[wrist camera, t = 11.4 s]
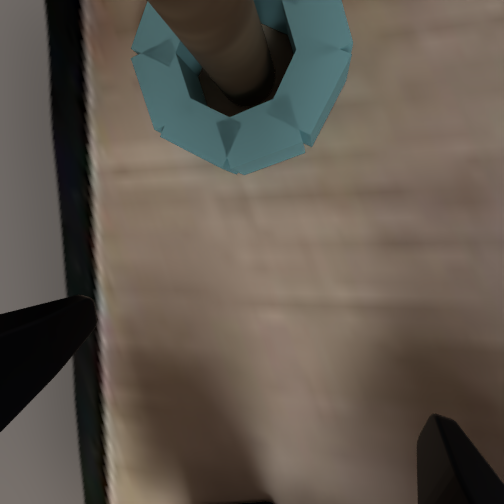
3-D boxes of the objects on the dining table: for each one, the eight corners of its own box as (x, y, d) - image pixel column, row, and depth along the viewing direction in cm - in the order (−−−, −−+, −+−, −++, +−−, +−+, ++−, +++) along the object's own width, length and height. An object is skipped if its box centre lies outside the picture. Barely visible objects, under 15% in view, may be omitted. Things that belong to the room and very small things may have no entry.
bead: (196, 192, 19) (174, 190, 16) (142, 27, 19) (109, -6, 16) (363, 131, 17) (373, 115, 14) (309, -63, 16) (307, -123, 13)
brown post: (231, 115, 18) (56, -70, 6) (214, 61, 18) (-2, -243, 6) (282, 93, 17) (199, -168, 5) (265, 37, 17) (139, -371, 5)
